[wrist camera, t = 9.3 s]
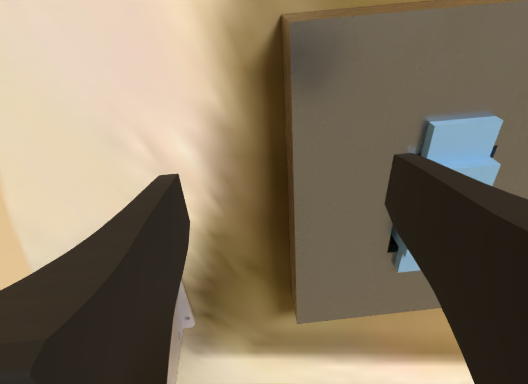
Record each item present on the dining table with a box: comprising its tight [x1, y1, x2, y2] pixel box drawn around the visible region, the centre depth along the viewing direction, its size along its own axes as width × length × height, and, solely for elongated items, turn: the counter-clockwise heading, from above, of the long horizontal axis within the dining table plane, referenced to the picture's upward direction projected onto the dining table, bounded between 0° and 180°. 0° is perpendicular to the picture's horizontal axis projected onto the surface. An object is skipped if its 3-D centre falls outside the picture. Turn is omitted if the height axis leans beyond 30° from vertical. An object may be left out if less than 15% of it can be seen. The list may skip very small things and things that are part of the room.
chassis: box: [281, 0, 528, 324], centre depth 21 cm, size 22×18×3 cm
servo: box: [391, 116, 503, 273], centre depth 21 cm, size 11×4×4 cm, turn 4°
